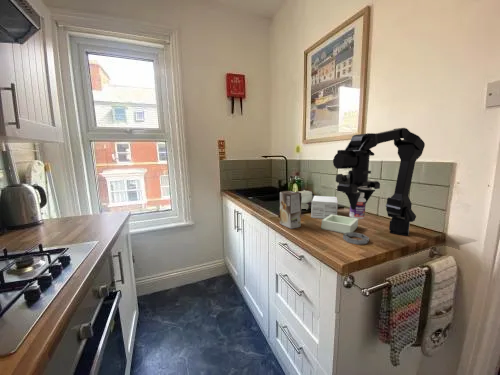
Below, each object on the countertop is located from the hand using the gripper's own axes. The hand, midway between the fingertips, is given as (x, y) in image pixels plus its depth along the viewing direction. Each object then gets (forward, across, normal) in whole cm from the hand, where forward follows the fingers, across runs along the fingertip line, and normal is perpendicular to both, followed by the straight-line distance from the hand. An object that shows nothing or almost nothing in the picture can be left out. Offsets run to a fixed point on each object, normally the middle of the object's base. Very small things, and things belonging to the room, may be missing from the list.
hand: (357, 208), depth 85 cm
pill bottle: (+4, 0, 0) cm, 4 cm away
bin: (+13, -7, -12) cm, 19 cm away
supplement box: (+13, -18, -31) cm, 39 cm away
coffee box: (+13, +10, -28) cm, 32 cm away
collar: (+13, 0, 0) cm, 13 cm away
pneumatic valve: (+13, -18, -46) cm, 51 cm away
